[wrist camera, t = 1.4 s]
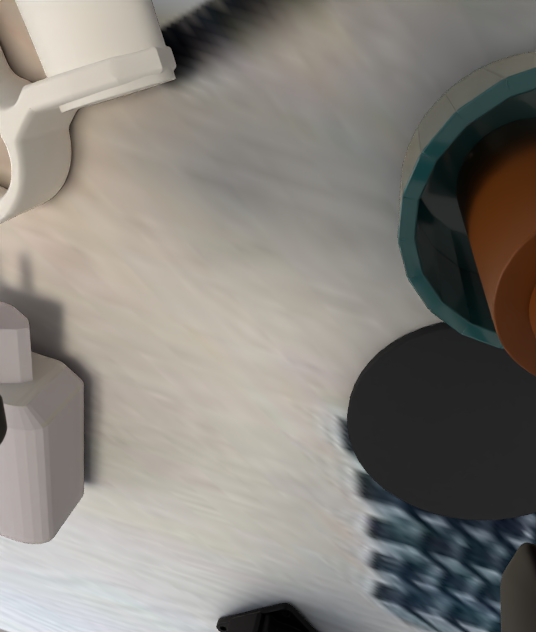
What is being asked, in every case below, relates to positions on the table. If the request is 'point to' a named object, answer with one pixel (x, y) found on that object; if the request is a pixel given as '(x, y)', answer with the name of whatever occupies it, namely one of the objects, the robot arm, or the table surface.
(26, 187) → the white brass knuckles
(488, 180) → the bottle
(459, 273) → the cup
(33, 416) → the charger
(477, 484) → the coaster
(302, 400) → the table surface
